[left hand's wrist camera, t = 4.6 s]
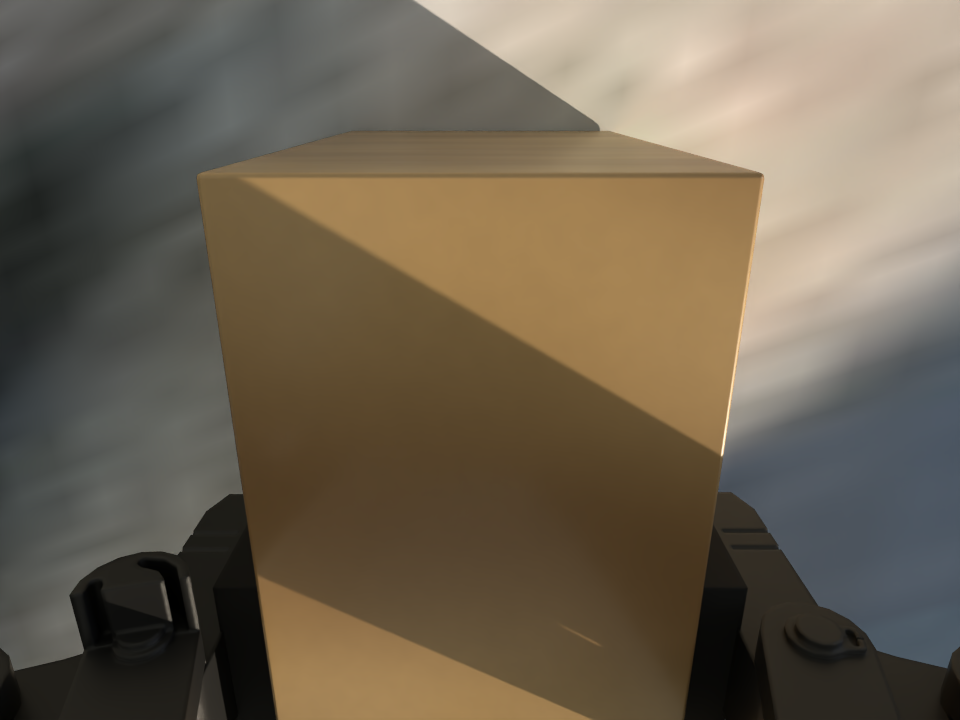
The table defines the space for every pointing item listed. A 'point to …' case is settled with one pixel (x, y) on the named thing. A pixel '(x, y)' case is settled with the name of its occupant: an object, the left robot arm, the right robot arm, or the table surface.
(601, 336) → the bar
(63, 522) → the table surface
